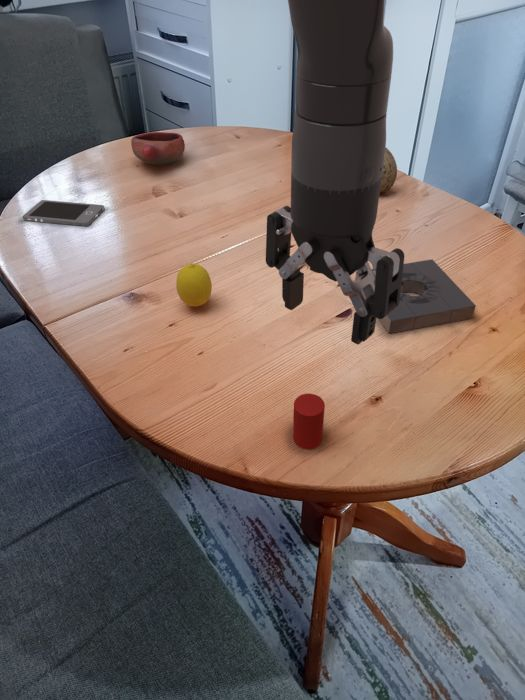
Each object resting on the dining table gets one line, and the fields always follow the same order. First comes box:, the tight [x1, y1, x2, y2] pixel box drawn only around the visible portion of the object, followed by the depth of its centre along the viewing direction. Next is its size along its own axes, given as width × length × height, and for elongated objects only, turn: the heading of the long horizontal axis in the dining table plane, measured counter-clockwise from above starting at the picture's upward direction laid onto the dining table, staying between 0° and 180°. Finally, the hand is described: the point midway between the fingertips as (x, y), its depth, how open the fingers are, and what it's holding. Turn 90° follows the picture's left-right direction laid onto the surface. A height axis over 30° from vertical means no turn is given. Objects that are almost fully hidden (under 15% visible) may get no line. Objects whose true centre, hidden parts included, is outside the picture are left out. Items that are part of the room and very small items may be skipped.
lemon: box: [175, 263, 213, 308], centre depth 85 cm, size 6×6×8 cm
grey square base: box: [354, 258, 477, 335], centre depth 87 cm, size 14×14×2 cm
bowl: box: [130, 131, 186, 166], centre depth 129 cm, size 16×13×8 cm
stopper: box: [292, 393, 326, 450], centre depth 64 cm, size 4×4×6 cm
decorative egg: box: [379, 146, 398, 195], centre depth 115 cm, size 7×7×10 cm
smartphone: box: [21, 199, 105, 227], centre depth 113 cm, size 15×8×1 cm, turn 77°
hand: (325, 321), depth 55 cm, fingers open, 8 cm apart
